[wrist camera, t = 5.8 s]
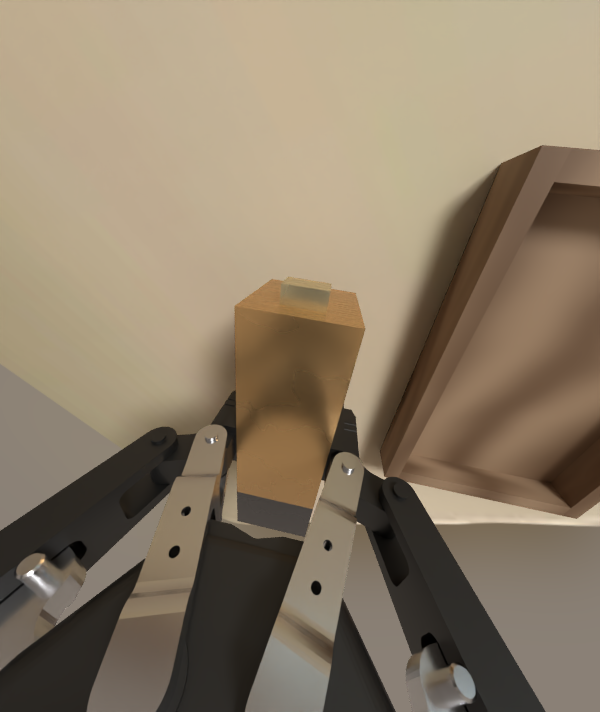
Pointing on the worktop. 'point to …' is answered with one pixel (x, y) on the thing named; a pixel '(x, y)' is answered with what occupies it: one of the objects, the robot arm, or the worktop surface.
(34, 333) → the worktop surface
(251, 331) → the battery cell
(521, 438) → the brown wooden tray
